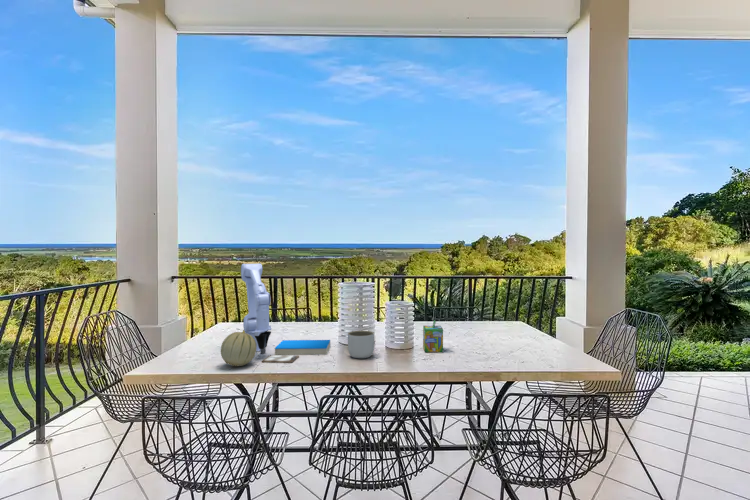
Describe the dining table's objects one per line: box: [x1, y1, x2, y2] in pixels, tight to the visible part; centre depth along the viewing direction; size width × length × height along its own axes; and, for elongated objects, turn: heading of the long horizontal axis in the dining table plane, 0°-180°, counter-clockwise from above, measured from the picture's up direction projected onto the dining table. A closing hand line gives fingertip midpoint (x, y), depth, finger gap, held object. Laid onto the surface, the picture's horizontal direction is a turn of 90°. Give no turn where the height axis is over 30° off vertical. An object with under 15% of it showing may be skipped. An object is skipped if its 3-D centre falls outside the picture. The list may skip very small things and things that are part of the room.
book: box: [274, 339, 331, 356], centre depth 191 cm, size 17×4×25 cm
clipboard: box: [261, 354, 300, 364], centre depth 175 cm, size 14×10×1 cm
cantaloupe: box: [220, 329, 257, 367], centre depth 166 cm, size 15×15×15 cm
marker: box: [259, 339, 267, 355], centre depth 180 cm, size 3×3×8 cm
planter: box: [347, 330, 375, 359], centre depth 179 cm, size 12×12×11 cm
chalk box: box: [422, 319, 444, 353], centre depth 189 cm, size 9×9×15 cm
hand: (262, 348), depth 180 cm, fingers closed on marker, 2 cm apart
